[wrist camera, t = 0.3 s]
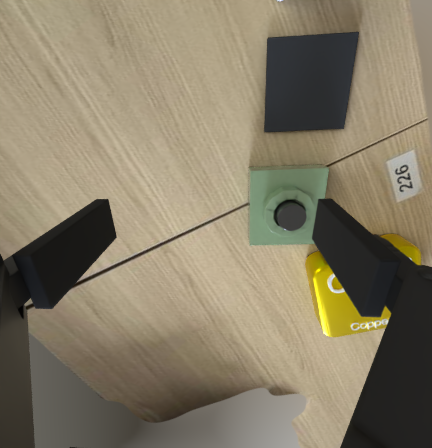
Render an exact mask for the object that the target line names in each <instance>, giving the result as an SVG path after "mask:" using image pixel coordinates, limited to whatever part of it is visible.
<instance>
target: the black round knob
mask: <svg viewBox="0 0 432 448" xmlns="http://www.w3.org/2000/svg"><path fill="white" fill-rule="evenodd" d="M275 217H276V220H277V222H278V224H279V225H280V227H281V228H282V229H284V230H287V231H295V230H297V229H299V228H301V227H302V226H303V225H304V223H305V222H306V218H307V214H306V211H305V210H304V208H303V207H302V206H301V205H300V204H299V203H298V202H296V201H285V202H283V203H281V204H280V205H279V206H278V208H277V209H276V212H275Z"/></svg>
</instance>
